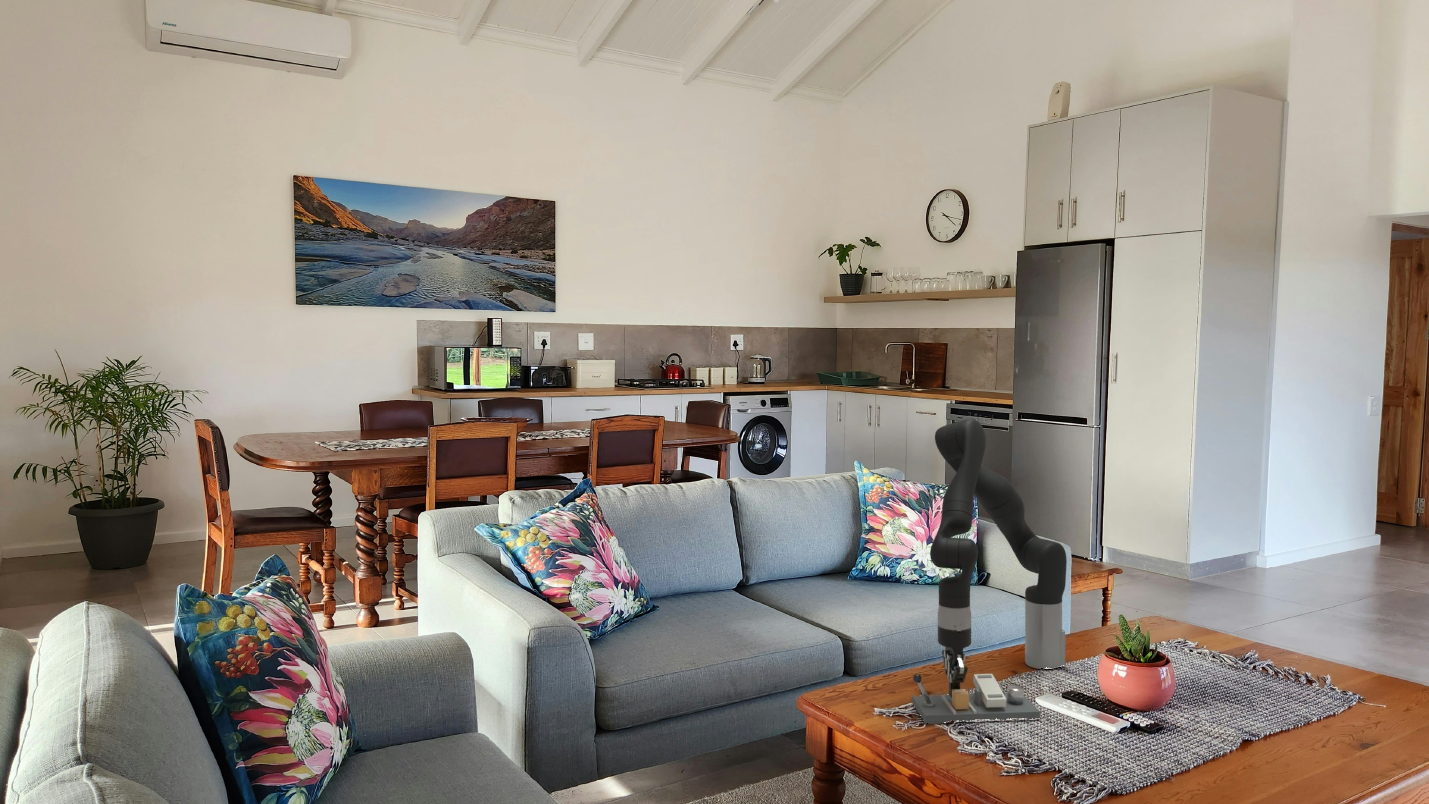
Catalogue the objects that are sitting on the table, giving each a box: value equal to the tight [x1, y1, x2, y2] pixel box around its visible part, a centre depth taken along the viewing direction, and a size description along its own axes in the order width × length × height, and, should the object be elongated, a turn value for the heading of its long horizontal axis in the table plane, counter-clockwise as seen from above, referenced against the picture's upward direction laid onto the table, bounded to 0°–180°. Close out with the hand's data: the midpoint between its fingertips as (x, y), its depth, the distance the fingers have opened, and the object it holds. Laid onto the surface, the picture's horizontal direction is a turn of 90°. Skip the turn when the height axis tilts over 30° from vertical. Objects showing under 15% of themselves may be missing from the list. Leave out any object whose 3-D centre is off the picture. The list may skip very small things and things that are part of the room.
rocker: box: [972, 673, 1007, 707], centre depth 216 cm, size 4×10×2 cm, turn 2°
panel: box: [911, 686, 1041, 725], centre depth 216 cm, size 26×12×5 cm, turn 92°
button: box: [1006, 684, 1024, 704], centre depth 217 cm, size 4×4×3 cm
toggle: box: [912, 673, 931, 704], centre depth 216 cm, size 2×2×8 cm
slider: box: [952, 688, 970, 709], centre depth 214 cm, size 3×3×4 cm
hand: (954, 697), depth 218 cm, fingers closed
